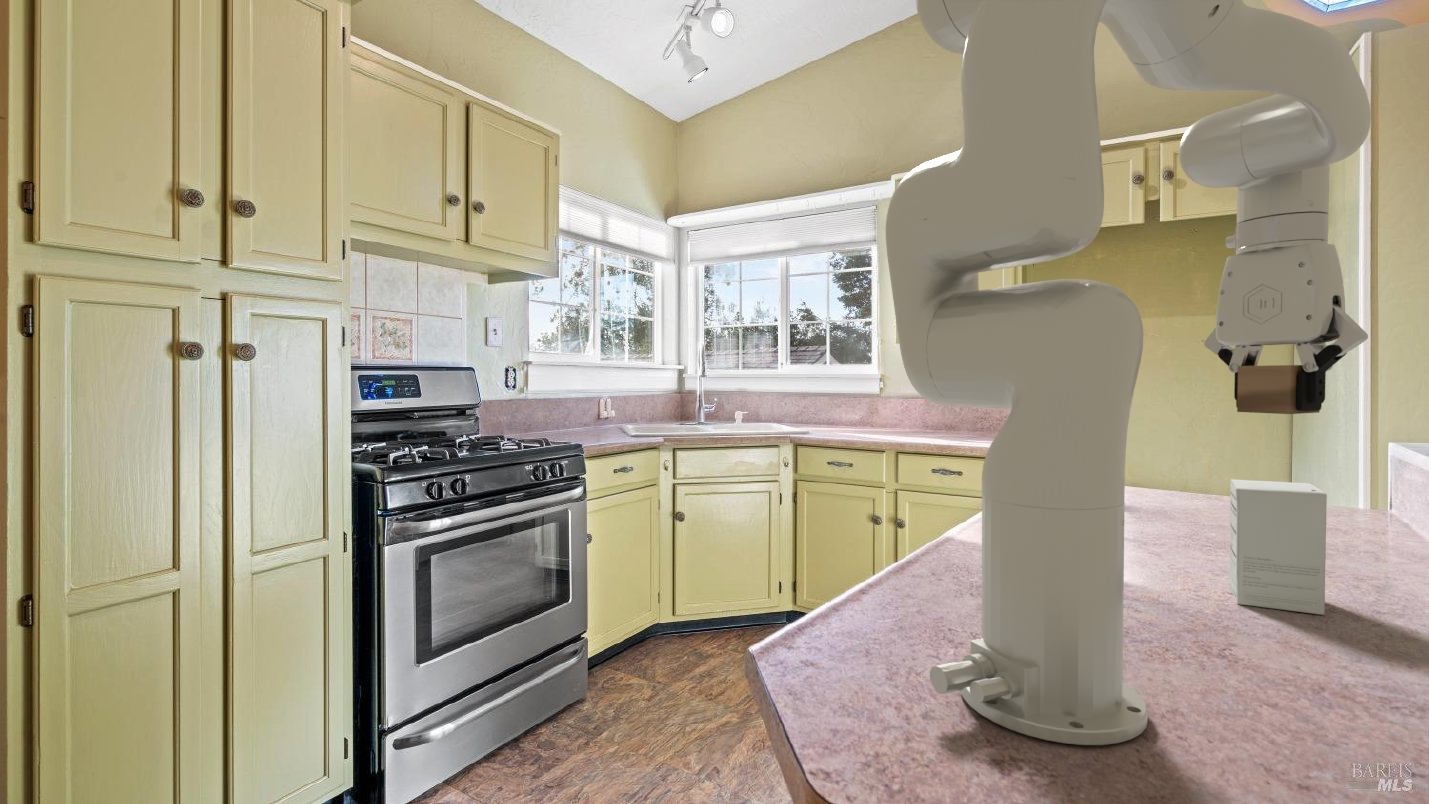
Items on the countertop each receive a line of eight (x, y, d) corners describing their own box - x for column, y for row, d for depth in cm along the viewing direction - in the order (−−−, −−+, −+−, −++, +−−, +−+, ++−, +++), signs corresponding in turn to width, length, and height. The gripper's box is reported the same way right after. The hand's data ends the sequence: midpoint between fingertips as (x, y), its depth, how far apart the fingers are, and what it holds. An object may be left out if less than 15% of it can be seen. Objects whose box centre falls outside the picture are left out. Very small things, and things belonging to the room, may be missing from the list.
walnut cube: (1289, 414, 70) (1290, 365, 70) (1237, 411, 75) (1238, 366, 74) (1319, 412, 72) (1320, 364, 71) (1266, 410, 76) (1267, 365, 76)
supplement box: (1310, 596, 75) (1313, 482, 74) (1325, 617, 69) (1328, 492, 68) (1227, 586, 79) (1229, 477, 78) (1233, 604, 73) (1236, 486, 72)
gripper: (1176, 250, 79) (1174, 407, 80) (1359, 218, 63) (1355, 414, 64) (1219, 253, 82) (1217, 405, 82) (1405, 223, 66) (1400, 412, 67)
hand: (1277, 407), depth 73 cm, fingers closed on walnut cube, 5 cm apart
